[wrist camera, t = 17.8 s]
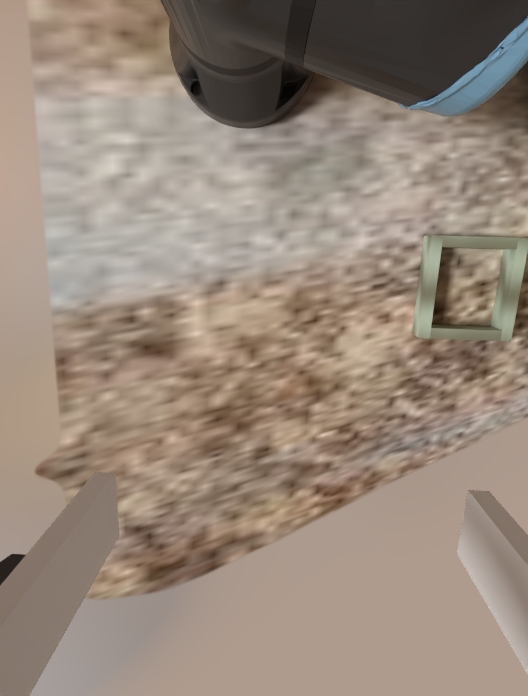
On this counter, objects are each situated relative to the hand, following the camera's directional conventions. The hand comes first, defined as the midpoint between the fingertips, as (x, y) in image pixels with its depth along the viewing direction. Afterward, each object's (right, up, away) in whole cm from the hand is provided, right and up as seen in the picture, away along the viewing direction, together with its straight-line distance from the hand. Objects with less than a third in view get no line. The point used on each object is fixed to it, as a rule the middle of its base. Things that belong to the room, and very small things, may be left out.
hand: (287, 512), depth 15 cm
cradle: (+22, +13, +32) cm, 41 cm away
